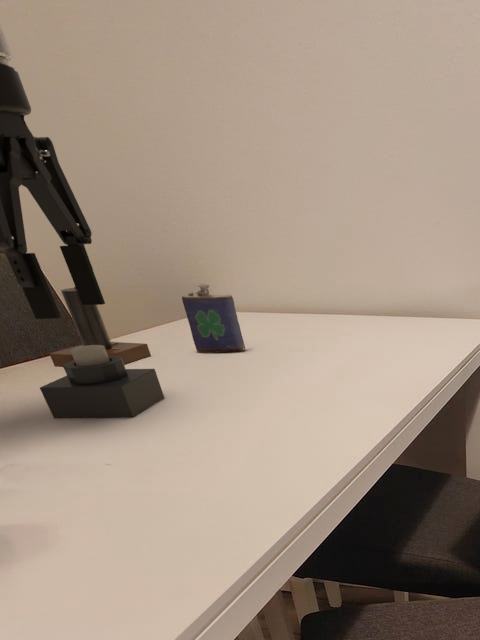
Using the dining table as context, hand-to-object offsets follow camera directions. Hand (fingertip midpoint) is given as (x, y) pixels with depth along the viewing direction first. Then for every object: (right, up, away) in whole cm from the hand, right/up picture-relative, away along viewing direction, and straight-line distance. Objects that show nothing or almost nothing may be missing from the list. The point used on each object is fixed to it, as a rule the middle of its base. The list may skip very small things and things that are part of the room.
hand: (72, 310), depth 74 cm
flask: (+4, +12, +34) cm, 36 cm away
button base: (0, -9, +7) cm, 12 cm away
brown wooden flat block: (-16, +8, +30) cm, 35 cm away
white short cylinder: (0, -5, +4) cm, 6 cm away
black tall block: (-16, +10, +29) cm, 34 cm away
